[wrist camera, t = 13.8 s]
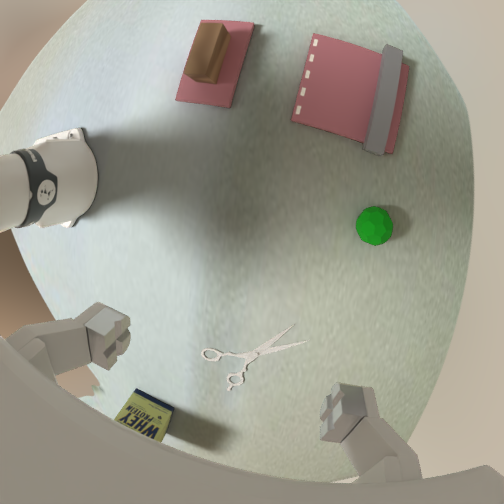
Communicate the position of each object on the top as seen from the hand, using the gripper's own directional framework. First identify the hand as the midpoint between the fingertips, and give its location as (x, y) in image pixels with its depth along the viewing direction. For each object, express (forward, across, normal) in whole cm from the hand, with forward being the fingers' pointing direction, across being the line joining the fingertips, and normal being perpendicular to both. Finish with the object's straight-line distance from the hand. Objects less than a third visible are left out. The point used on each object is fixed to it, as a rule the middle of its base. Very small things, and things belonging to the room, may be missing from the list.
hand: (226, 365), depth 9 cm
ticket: (+29, +5, +20) cm, 36 cm away
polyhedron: (+29, +12, +3) cm, 32 cm away
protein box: (+29, -17, -55) cm, 65 cm away
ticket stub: (+29, -14, +20) cm, 38 cm away
